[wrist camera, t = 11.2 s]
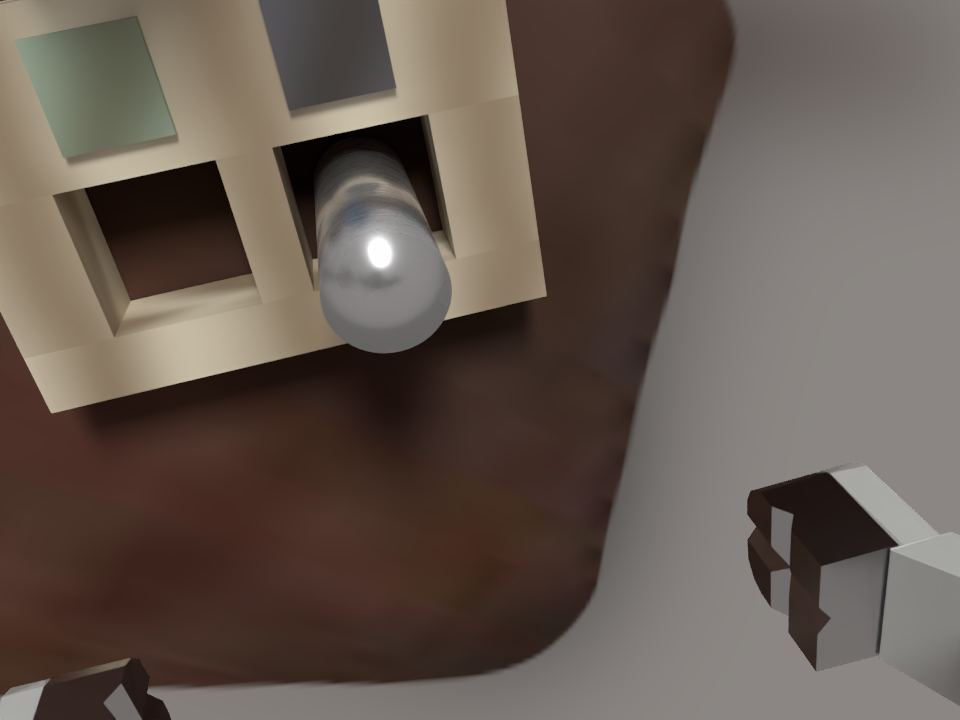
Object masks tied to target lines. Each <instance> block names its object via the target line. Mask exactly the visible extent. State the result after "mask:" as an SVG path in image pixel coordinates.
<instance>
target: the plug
mask: <svg viewBox="0 0 960 720" xmlns="http://www.w3.org/2000/svg"><path fill="white" fill-rule="evenodd" d="M314 198H315V215H316V233H317V251H318V269H319V287H320V302H321V307H322V311H323V313H324V316H325V318H326V320H327V322H328V324H329V325H330V327H331V328H332V329H333V331H334V332H335V333H336V334H337V335H338V336H339V337H340V338H342V339H343V340H344V341H345V342H347V343H349V344H350V345H352V346H354V347H357V348H359V349H362V350H365V351H369V352H374V353H394V352H400V351H403V350H407V349H410V348H412V347H414V346H416V345H418V344H420V343H422V342H423V341H425V340H426V339H427V338H429V337H430V336H431V335H432V334H433V333H434V332H435V331H436V330H437V329H438V327H439V326H440V325H441V324H442V322H443V320H444V319H445V317H446V314H447V312H448V310H449V306H450V303H451V296H452V285H451V279H450V275H449V272H448V269H447V267H446V265H445V262H444V260H443V258H442V255H441V253H440V251H439V248H438V246H437V244H436V241H435V239H434V237H433V234H432V232H431V230H430V227H429V225H428V223H427V220H426V218H425V216H424V213H423V211H422V209H421V206H420V204H419V202H418V199H417V197H416V195H415V192H414V190H413V188H412V185H411V183H410V181H409V178H408V176H407V174H406V171H405V169H404V167H403V164H402V162H401V160H400V159H399V157H398V156H397V154H396V153H395V152H394V151H393V150H392V149H391V148H390V147H389V146H387V145H386V144H385V143H383V142H381V141H379V140H376V139H374V138H370V137H363V136H355V137H349V138H345V139H342V140H340V141H338V142H336V143H334V144H333V145H332V146H330V147H329V148H328V149H327V150H326V151H325V152H324V153H323V155H322V156H321V157H320V159H319V161H318V163H317V165H316V168H315V172H314Z"/></svg>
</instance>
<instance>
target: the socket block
mask: <svg viewBox="0 0 960 720" xmlns="http://www.w3.org/2000/svg"><path fill="white" fill-rule="evenodd" d="M418 116H420V118H421V123H422V128H423V133H424V138H425V143H426V148H427V153H428V158H429V163H430V168H431V173H432V178H433V183H434V188H435V193H436V198H437V203H438V208H439V213H440V218H441V223H442V228H443V230H440V231H436V232H432V234H433V237H434V239H435V241H436V244H437V246H438V248H439V251H440V253H441V255H442V258H443V260H444V262H445V265H446V267H447V269H448V272H449V275H450V279H451V285H452V296H451V303H450V306H449V310H448V312H447V314H446V317H445V319H444V320H447V319H451V318H456V317H460V316H464V315H468V314H472V313H477V312H481V311H485V310H489V309H494V308H498V307H502V306H506V305H510V304H515V303H519V302H523V301H527V300H531V299H536V298H540V297H544V296H547V295H546V288H545V280H544V273H543V266H542V259H541V252H540V245H539V238H538V230H537V223H536V216H535V209H534V202H533V195H532V188H531V181H530V173H529V166H528V159H527V152H526V145H525V138H524V131H523V123H522V116H521V109H520V102H519V95H518V88H517V81H516V73H515V66H514V59H513V52H512V45H511V38H510V31H509V24H508V16H507V9H506V2H505V0H6V1H1V2H0V312H1V314H2V316H3V318H4V320H5V322H6V324H7V326H8V328H9V330H10V332H11V334H12V336H13V338H14V340H15V342H16V344H17V346H18V348H19V350H20V352H21V354H22V356H23V358H24V360H25V362H26V364H27V366H28V368H29V370H30V372H31V374H32V376H33V378H34V380H35V382H36V384H37V386H38V388H39V390H40V392H41V394H42V396H43V398H44V400H45V402H46V404H47V406H48V408H49V410H50V412H51V413H55V412H59V411H64V410H68V409H72V408H76V407H81V406H85V405H89V404H93V403H97V402H102V401H106V400H110V399H114V398H118V397H123V396H127V395H131V394H135V393H140V392H144V391H148V390H152V389H156V388H161V387H165V386H169V385H173V384H177V383H182V382H186V381H190V380H194V379H199V378H203V377H207V376H211V375H215V374H220V373H224V372H228V371H232V370H236V369H241V368H245V367H249V366H253V365H258V364H262V363H266V362H270V361H274V360H279V359H283V358H287V357H291V356H295V355H300V354H304V353H308V352H312V351H317V350H321V349H325V348H329V347H333V346H338V345H342V344H346V343H347V342H345V341H344V340H343V339H342V338H340V337H339V336H338V335H337V334H336V333H335V332H334V331H333V329H332V328H331V327H330V325H329V324H328V322H327V320H326V318H325V316H324V313H323V311H322V307H321V302H320V287H319V269H318V258H317V259H312V255H311V252H310V248H309V245H308V241H307V238H306V234H305V231H304V227H303V224H302V220H301V217H300V213H299V210H298V206H297V203H296V199H295V196H294V192H293V189H292V185H291V182H290V178H289V175H288V171H287V168H286V164H285V161H284V157H283V154H282V150H281V147H280V146H283V145H287V144H292V143H297V142H301V141H306V140H311V139H315V138H320V137H325V136H329V135H334V134H338V133H343V132H348V131H352V130H357V129H362V128H366V127H371V126H376V125H380V124H385V123H390V122H394V121H399V120H404V119H408V118H413V117H418ZM213 160H216V163H217V166H218V169H219V172H220V175H221V178H222V181H223V184H224V187H225V190H226V193H227V196H228V199H229V203H230V206H231V209H232V212H233V215H234V218H235V221H236V224H237V227H238V230H239V233H240V236H241V239H242V242H243V245H244V248H245V251H246V254H247V258H248V261H249V264H250V267H251V270H252V273H251V274H247V275H242V276H238V277H234V278H229V279H225V280H220V281H216V282H212V283H207V284H203V285H199V286H194V287H190V288H185V289H181V290H177V291H172V292H168V293H163V294H159V295H155V296H150V297H146V298H141V299H137V300H133V301H131V300H130V298H129V295H128V293H127V291H126V288H125V286H124V283H123V281H122V279H121V276H120V274H119V271H118V269H117V266H116V264H115V262H114V259H113V257H112V254H111V252H110V250H109V247H108V245H107V242H106V240H105V237H104V235H103V233H102V230H101V228H100V225H99V223H98V220H97V218H96V216H95V213H94V211H93V208H92V206H91V204H90V201H89V199H88V196H87V194H86V191H85V189H84V188H87V187H92V186H96V185H101V184H106V183H110V182H115V181H120V180H124V179H129V178H134V177H138V176H143V175H148V174H152V173H157V172H162V171H166V170H171V169H176V168H180V167H185V166H190V165H194V164H199V163H203V162H208V161H213Z"/></svg>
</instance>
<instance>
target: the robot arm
mask: <svg viewBox="0 0 960 720" xmlns="http://www.w3.org/2000/svg"><path fill="white" fill-rule="evenodd" d="M747 508H748V509H747V514H748V516H749V517H750V519H751V520H752V521H753V523H754V524H755V525H756V528H755V530H754V531H753V533H752V534H751V536H750V537H749V538H748V558H749V562H750V566H751V569H752V573H753V576H754V579H755V581H756V583H757V585H758V587H759V590H760V591H761V593H762V595H763V596H764V598H765V599H766V601H767V602H768V604H769V605H770V607H771V608H774V609H775V610H778V611H780V612H782V613H784V614H786V615H788V616H789V629H788V632H789V634H790V635H791V637H792V638H793V640H794V641H795V642H796V644H797V645H798V647H799V648H800V649H801V651H802V652H803V653H804V655H805V657H806V658H807V659H808V661H809V662H810V663H811V665H812V666H813V668H814V669H815V671H820V670H824V669H828V668H832V667H835V666H839V665H843V664H847V663H851V662H854V661H858V660H862V659H866V658H870V657H874V656H877V655H879V659H881V660H882V661H884V662H886V663H888V664H889V665H891V666H893V667H895V668H896V669H898V670H899V671H901V672H903V673H905V674H906V675H908V676H910V677H911V678H913V679H915V680H916V681H918V682H920V683H922V684H923V685H925V686H927V687H928V688H930V689H932V690H934V691H935V692H937V693H939V694H940V695H942V696H944V697H945V698H947V699H949V700H951V701H952V702H954V703H956V704H957V705H959V706H960V535H958V534H955V533H952V532H949V533H946V534H942V535H940V534H939V533H938V532H936V531H935V530H934V529H933V528H932V527H931V526H930V525H929V524H928V523H927V522H926V521H925V520H924V519H922V518H921V516H919V515H918V514H917V513H916V512H915V511H914V510H913V509H912V508H911V507H910V506H909V505H908V504H906V503H905V502H904V501H903V500H902V499H901V498H900V497H899V496H898V495H897V494H896V493H895V492H894V491H893V490H892V489H890V488H889V487H888V486H887V485H886V484H885V483H884V482H883V481H882V480H880V478H879V477H878V476H876V475H875V474H874V473H873V472H872V471H871V470H870V469H869V468H868V467H867V466H866V465H865V464H863V463H860V462H857V461H854V462H850V463H847V464H844V465H840V466H836V467H833V468H829V469H826V470H822V471H820V472H819V473H813V474H810V475H806V476H802V477H799V478H795V479H792V480H788V481H784V482H781V483H777V484H774V485H770V486H766V487H763V488H759V489H756V490H752V491H751V492H750V494H749V497H748V502H747ZM149 679H150V676H149V674H148V673H147V671H146V669H145V668H144V666H143V664H142V663H141V661H140V659H135V658H129V659H125V660H120V661H116V662H112V663H108V664H104V665H100V666H96V667H92V668H88V669H84V670H80V671H75V672H71V673H67V674H63V675H59V676H55V677H52V678H51V679H47V680H43V681H39V682H35V683H30V684H26V685H22V686H18V687H13V688H11V689H10V690H9V691H8V692H7V693H6V694H5V695H4V696H3V697H2V698H1V700H0V720H171V718H170V714H169V712H168V710H167V708H166V706H165V705H164V703H163V701H162V700H160V699H158V698H155V697H154V696H151V695H149V694H147V691H148V685H149Z"/></svg>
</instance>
